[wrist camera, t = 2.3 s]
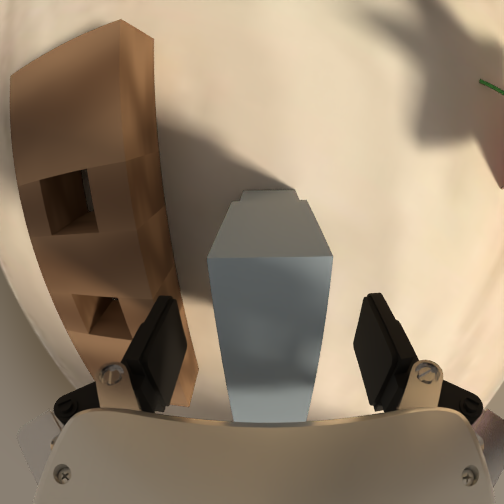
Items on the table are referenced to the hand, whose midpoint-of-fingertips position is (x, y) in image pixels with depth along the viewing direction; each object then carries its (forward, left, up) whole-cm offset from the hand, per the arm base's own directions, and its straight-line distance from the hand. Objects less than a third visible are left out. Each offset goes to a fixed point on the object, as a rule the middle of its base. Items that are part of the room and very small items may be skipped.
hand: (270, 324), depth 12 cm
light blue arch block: (0, 0, -6) cm, 6 cm away
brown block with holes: (+2, +10, -6) cm, 12 cm away
